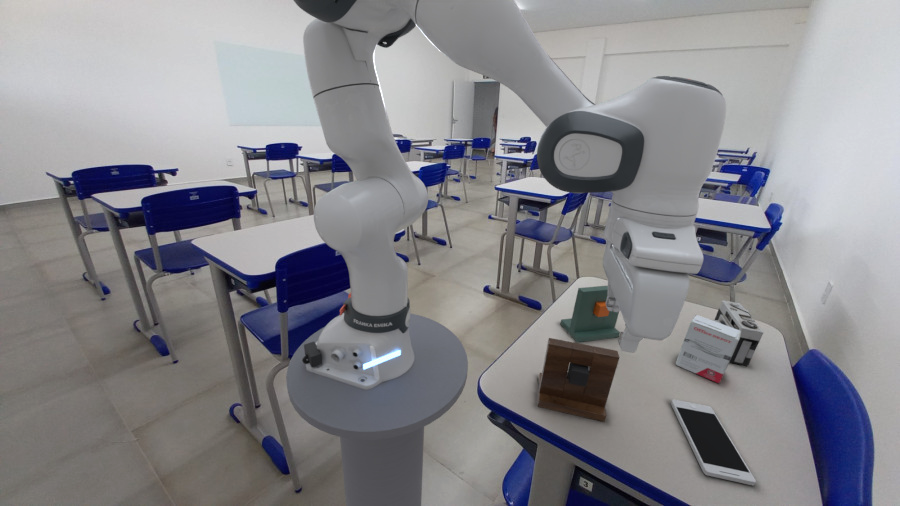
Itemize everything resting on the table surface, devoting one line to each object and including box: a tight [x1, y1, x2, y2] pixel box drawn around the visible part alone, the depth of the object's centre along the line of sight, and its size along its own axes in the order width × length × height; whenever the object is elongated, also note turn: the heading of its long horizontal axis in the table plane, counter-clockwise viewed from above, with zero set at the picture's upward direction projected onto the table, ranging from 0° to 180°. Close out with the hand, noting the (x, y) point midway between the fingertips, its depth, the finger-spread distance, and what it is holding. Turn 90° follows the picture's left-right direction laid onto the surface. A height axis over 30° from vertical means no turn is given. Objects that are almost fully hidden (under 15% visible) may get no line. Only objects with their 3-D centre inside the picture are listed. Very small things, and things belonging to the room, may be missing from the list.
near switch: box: [568, 363, 589, 387], centre depth 64 cm, size 3×3×3 cm
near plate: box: [537, 337, 620, 423], centre depth 67 cm, size 8×12×13 cm, turn 76°
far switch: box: [593, 301, 609, 317], centre depth 87 cm, size 3×3×3 cm
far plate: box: [560, 285, 621, 343], centre depth 89 cm, size 8×12×13 cm, turn 105°
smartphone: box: [670, 398, 757, 486], centre depth 62 cm, size 7×15×1 cm, turn 168°
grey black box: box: [711, 299, 765, 367], centre depth 87 cm, size 14×8×10 cm, turn 160°
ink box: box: [675, 314, 741, 385], centre depth 77 cm, size 9×5×12 cm, turn 46°
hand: (618, 327), depth 47 cm, fingers open, 8 cm apart
